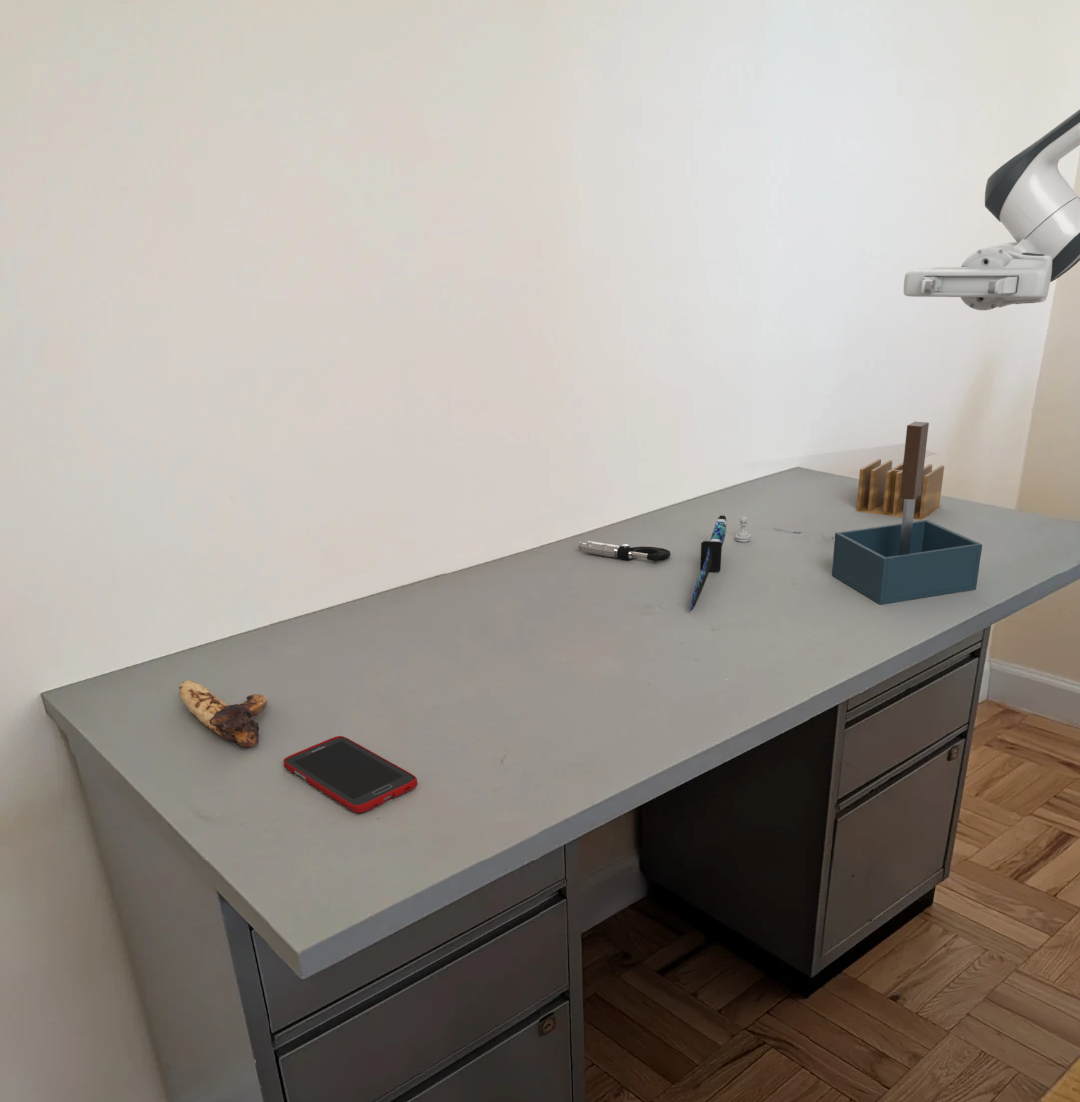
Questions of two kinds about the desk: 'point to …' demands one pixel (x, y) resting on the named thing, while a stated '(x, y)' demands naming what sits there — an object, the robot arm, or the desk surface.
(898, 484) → the dish rack
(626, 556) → the micrometer
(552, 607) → the desk surface
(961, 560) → the open box
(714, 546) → the knife
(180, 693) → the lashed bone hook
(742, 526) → the pawn
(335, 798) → the cell phone
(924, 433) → the kitchen knife
